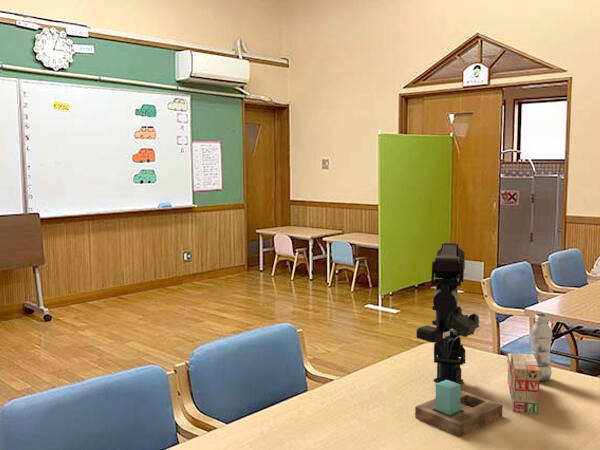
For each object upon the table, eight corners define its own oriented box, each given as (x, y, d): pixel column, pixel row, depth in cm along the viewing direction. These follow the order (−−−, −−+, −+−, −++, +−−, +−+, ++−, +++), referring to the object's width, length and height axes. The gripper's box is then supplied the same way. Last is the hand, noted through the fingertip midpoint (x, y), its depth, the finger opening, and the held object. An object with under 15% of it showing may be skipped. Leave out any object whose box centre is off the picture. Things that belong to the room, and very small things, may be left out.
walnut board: (415, 417, 152) (415, 406, 152) (457, 399, 164) (457, 389, 163) (460, 436, 142) (460, 424, 141) (502, 415, 153) (502, 404, 152)
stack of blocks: (506, 382, 176) (507, 342, 174) (529, 384, 174) (530, 344, 173) (513, 412, 155) (514, 367, 154) (538, 414, 153) (540, 369, 152)
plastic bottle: (553, 378, 178) (555, 313, 176) (549, 385, 173) (551, 319, 171) (530, 374, 182) (532, 311, 180) (526, 381, 176) (527, 316, 174)
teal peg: (435, 421, 150) (435, 383, 149) (446, 416, 153) (446, 379, 152) (449, 427, 147) (449, 388, 146) (460, 422, 149) (460, 384, 148)
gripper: (449, 316, 146) (449, 375, 148) (492, 302, 158) (491, 357, 160) (415, 307, 155) (414, 363, 157) (458, 294, 166) (457, 347, 168)
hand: (446, 358), depth 160 cm, fingers closed
